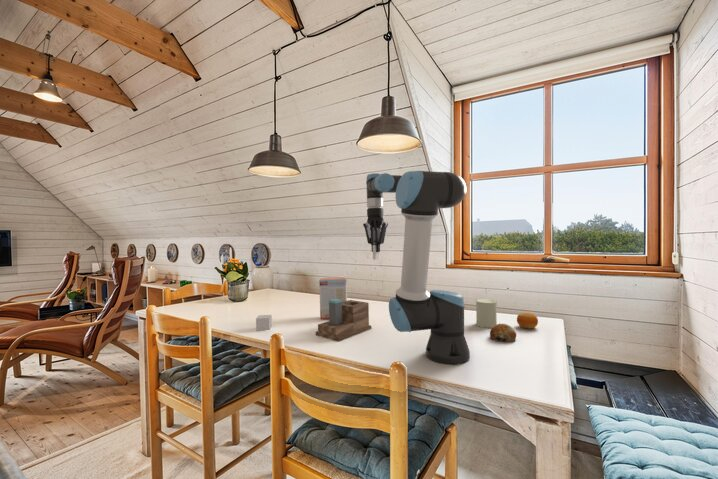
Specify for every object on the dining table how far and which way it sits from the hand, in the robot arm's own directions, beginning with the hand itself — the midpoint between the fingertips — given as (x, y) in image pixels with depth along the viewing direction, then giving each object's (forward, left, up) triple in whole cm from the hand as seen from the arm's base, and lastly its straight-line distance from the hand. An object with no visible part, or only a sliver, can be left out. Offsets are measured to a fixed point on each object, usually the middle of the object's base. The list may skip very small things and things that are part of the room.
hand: (375, 259), depth 151 cm
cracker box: (+30, -2, -33) cm, 44 cm away
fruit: (-54, -42, -33) cm, 76 cm away
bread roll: (-50, -20, -33) cm, 63 cm away
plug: (+9, +18, -31) cm, 37 cm away
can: (-38, -35, -33) cm, 61 cm away
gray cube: (+43, +32, -33) cm, 63 cm away
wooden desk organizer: (+9, +13, -32) cm, 36 cm away
